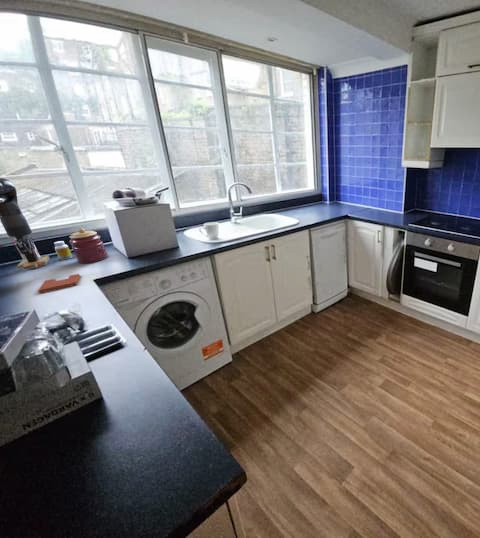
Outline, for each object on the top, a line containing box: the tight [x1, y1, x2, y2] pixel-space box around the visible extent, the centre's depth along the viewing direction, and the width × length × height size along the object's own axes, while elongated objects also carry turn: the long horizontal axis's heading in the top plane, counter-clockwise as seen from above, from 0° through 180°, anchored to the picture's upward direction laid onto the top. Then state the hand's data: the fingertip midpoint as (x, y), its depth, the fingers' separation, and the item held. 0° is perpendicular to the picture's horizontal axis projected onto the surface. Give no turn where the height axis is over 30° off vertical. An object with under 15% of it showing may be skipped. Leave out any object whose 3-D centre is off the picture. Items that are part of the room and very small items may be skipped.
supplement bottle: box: [53, 240, 74, 261], centre depth 164 cm, size 5×5×10 cm
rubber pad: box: [38, 273, 81, 294], centre depth 133 cm, size 12×12×2 cm
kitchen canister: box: [68, 227, 108, 264], centre depth 160 cm, size 13×13×18 cm
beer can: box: [13, 238, 45, 270], centre depth 152 cm, size 6×6×16 cm
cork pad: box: [17, 249, 51, 270], centre depth 136 cm, size 9×12×6 cm
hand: (33, 260), depth 138 cm, fingers closed on cork pad, 3 cm apart
